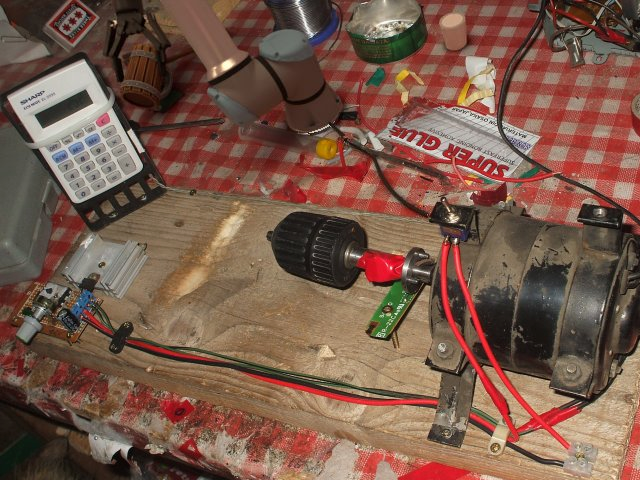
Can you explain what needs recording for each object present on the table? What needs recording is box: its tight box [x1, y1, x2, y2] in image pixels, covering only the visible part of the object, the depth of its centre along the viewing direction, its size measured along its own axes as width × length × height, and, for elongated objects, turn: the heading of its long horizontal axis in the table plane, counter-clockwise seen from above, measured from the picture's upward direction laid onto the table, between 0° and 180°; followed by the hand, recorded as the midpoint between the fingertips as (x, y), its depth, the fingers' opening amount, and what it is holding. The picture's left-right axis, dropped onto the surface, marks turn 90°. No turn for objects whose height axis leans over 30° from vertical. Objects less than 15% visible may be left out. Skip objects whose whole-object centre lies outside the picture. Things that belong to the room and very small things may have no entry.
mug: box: [118, 43, 174, 112], centre depth 177 cm, size 16×11×15 cm
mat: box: [159, 84, 184, 114], centre depth 184 cm, size 12×8×1 cm, turn 50°
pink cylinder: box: [438, 11, 468, 51], centre depth 163 cm, size 7×7×7 cm
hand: (142, 79), depth 176 cm, fingers open, 13 cm apart
